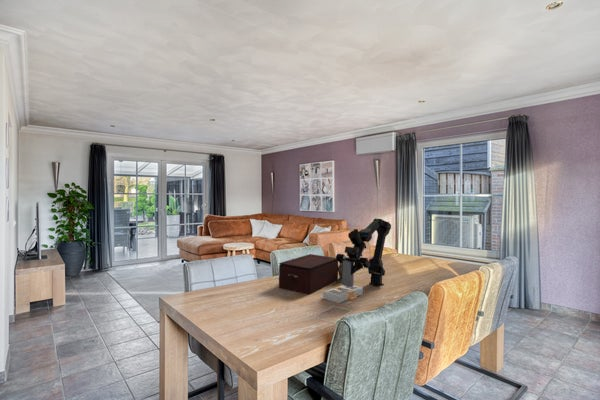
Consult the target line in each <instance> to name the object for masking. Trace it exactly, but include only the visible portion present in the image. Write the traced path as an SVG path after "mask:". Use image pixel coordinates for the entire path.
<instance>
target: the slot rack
mask: <svg viewBox="0 0 600 400" xmlns="http://www.w3.org/2000/svg"><path fill="white" fill-rule="evenodd" d="M363 294H364V287H361V286H358V285H355V284H353V286H352V287H348V286H344V285H340V286H337V287H333V288H330V289H327V290H322V299H324V300H327V301H330V302H333V303H337V304H340V303H342V302H346V301H354V300H356V299H358V298H357V297H359V296H362V295H363Z"/></svg>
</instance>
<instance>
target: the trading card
mask: <svg viewBox="0 0 600 400" xmlns="http://www.w3.org/2000/svg"><path fill="white" fill-rule="evenodd" d="M333 307H336V308H338V309H342V310H347V311H348V312H347V313H346V314H347V315H349V314H350V313H352V312H353V310H351V309H347V308H343V307H339V306H336V305H335V306H334V305H332V306H330V307H328V308H327V309H325V310H322V311H320V313H319V312H318V314H316V315H314V316H313V317H314V319H317V320H321V321H324V322H328V323H331V322H332V323H331V324H334V323H336V322H338V321H339V320H340V318H338V319H336V320H335V321H331V320H326V319H322V318H319V317H317V316H318V315H321V314H322V313H324V312H325V311H328V310H330V309H331V308H333ZM348 313H349V314H348ZM346 314H344V315H343V316H344V317H345V315H346Z"/></svg>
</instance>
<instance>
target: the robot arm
mask: <svg viewBox="0 0 600 400" xmlns="http://www.w3.org/2000/svg"><path fill="white" fill-rule="evenodd" d="M391 229H392V224H391V223H390V221H386V220H384V219H382V218H374V219H372V222H370V224H368V225H367V227H366V228H363V229H360V230H359V229H355V228H354V229H353V230H351V231H350V232H348V234H347V237H348V239H349V241H350V242H351V243H352V244H353V247H352V246H345V248H344V253H337V254H336V255H335V258H337V260H338V264H340V263H342V273H343V261H344V260H349V261H354V267H353V269H352V271H351V275H352V274H355V273H357V272H358V271H359V270H361V269H364V268H366V269H367V272H368V274H369V275H370V282H369V283H368V284H369V285H372V286H375V287H379V286H384V285H385V283H383V276H385V274H386V270H385V268H384V263H383V260H382V256H383V251H384V248H385V247H384V246H385V242H386V238H387V236H388V235H389V234H390V231H391ZM375 232H376V233H377V237H376V243H375V248H374V251H373V256H372V257H371V258H369V259H368V257H364V256H363V252H364V250H365V249H367V244H366V243H369V242H370V241H371V240H372V238H373V234H374V233H375ZM365 242H366V243H365ZM345 254H346V255H345Z"/></svg>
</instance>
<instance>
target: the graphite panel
mask: <svg viewBox="0 0 600 400" xmlns="http://www.w3.org/2000/svg"><path fill="white" fill-rule="evenodd" d="M354 264H355V263H354V261H349V260H344V261H343V274H342V283H341V284H342V285H344V286H348V287H352V286H353V285H354V278H355V276H354V274H355V273H354V274H352V275H351V271H352V269H353V267H354ZM342 285H341V286H342Z"/></svg>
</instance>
